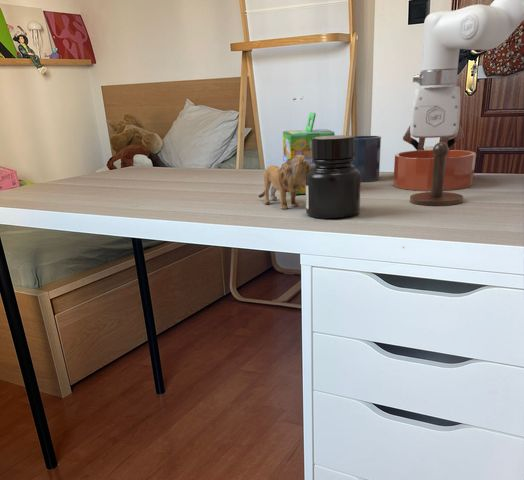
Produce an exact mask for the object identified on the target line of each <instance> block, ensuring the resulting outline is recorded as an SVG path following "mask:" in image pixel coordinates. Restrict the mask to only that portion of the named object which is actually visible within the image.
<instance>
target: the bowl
mask: <svg viewBox="0 0 524 480" xmlns="http://www.w3.org/2000/svg"><path fill="white" fill-rule="evenodd" d="M434 146H435V145H431V146H430V145H429V146H427V145H426V146H424V150H408V151H402V152H398V153H397V152H396V153H395V154H394V165H393V166H394V167H393V180H392V181H393V183H392V185H393V187H395V188H397V189H401V190H406V191H407V190H408V191H416V192H417V191H420V192H431V185H432V173H433V162H434V155H433V147H434ZM476 158H477V153H476V152H475V151H472V150H463V149H449V151H448V154H447V155H446V163H445V173H444V184H443V192H446V191H454V190H455V191H456V190H462V189H467V188H470V187H471V186H473V183H474V175H475V166H476Z"/></svg>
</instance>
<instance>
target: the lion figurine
mask: <svg viewBox="0 0 524 480" xmlns="http://www.w3.org/2000/svg"><path fill="white" fill-rule="evenodd" d="M311 168H312V166H310V165H309V164H308V163H307V162H306V159H305V156H302V155H296V156H294V157H292V158H290V159H288V160H287V161H286V162H285V163H282V164H281V167H279V166H277V165H275V164H274V165H273V164H271V165H270V166H267V168H266V169H265V170H264V175H263V182H264V183H263V184H264V190H263V192H262V193H260V194H259V195H258V198H259V199H260V198H263V197H264V202H263V204H264V205H270V204H271V200H272V201H277V199H278V198H277V197H278V196H276V192H277V190H278V191H279V197H280V209H281V210H288V209H289V206H288V203H287V193H289V192H291V194H290V201H289V204H290V206H291V207H293V208H295V207H299V203H298V202H296V196H297V194H296V192H297V191H298V190H300V186H302V185H303V184H304V183H305V182H306V174H307V173H308V171H310V170H311ZM271 184H272V185H271ZM270 188H271V189H270ZM270 199H271V200H270Z"/></svg>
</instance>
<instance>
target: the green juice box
mask: <svg viewBox="0 0 524 480" xmlns="http://www.w3.org/2000/svg"><path fill="white" fill-rule="evenodd" d="M315 121H316V112H309V115H308V118H307V122H306V127H305V129H302V130H301V129H300V130H299V129H298V130H297V129H295V130H284V131H282V151H283V152H282V153H283V154H282V155H283V163H285V162H286V161H287V160H288V159H290V158H292V157H294V156H296V155H302V156H305V159H306V162H307V163H308V164H309V165H310V166H312V167H313V166H315V163H313V162H312V159H313V158H312V138H314V137H321V136H335V135H336V134H335V131H333V130H331V129H327V128H326V129H324V128H321V129H320V128H319V129H314V124H315ZM283 163H282V164H283ZM288 193H289V194H290V195H291V192H288ZM296 195H306V182H305V183H304V184H303V185H302V186H300V190H298V191H297V192H296Z"/></svg>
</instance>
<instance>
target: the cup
mask: <svg viewBox="0 0 524 480" xmlns="http://www.w3.org/2000/svg"><path fill="white" fill-rule="evenodd" d="M354 136H355V156H354V158H355V159H354V161H353V162H351V164H352V165H354V166H355V168H356V169H358V170H359V171H360V173H361V183H370V182H376V181H379V180H380V170H381V166H380V165H381V151H382V150H381V149H382V136H381V135H354Z"/></svg>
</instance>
